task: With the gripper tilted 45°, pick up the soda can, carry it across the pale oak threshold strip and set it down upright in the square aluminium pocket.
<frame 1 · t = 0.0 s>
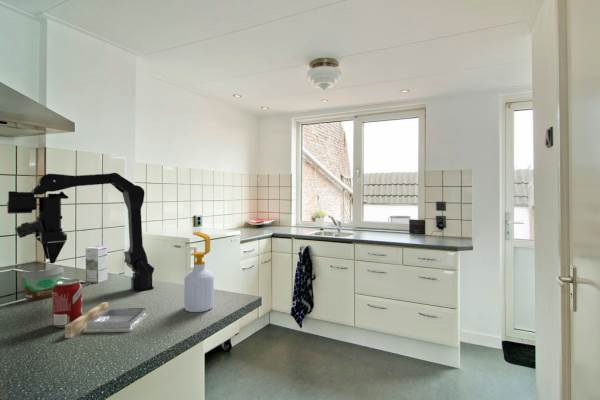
hand: (50, 260, 104), 15 cm above the worktop, tool pointing down, fingers open, 9 cm apart
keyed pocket: (118, 323, 92), on the worktop
syrup box: (96, 281, 135), on the worktop
food container: (46, 297, 113), on the worktop
oak threshold: (88, 323, 91), on the worktop
soap bottle: (199, 308, 105), on the worktop
soda can: (67, 324, 91), on the worktop
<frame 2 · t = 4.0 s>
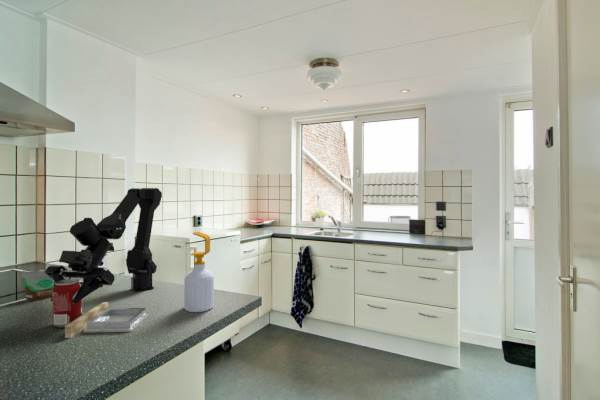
hand: (62, 302, 89), 7 cm above the worktop, tool tilted 45°, fingers closed on soda can, 6 cm apart
soda can: (67, 324, 91), on the worktop, touching gripper
everything else where it was.
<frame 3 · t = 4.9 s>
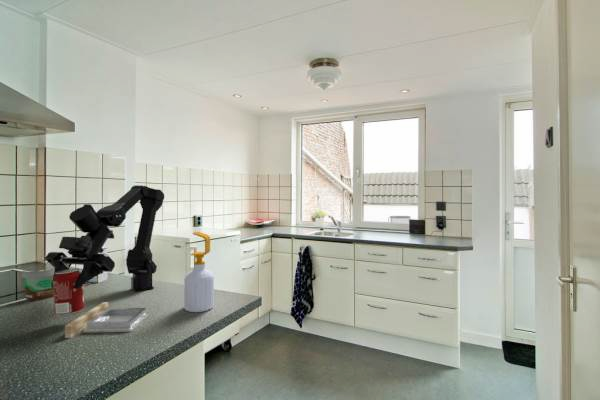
hand: (63, 287, 89), 11 cm above the worktop, tool tilted 45°, fingers closed on soda can, 6 cm apart
soda can: (70, 314, 90), point 3 cm above the worktop, touching gripper
everything else where it was.
when the fingers open (9 cm above the worktop, at t = 7.9 s): soda can stays where it is, resting on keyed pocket.
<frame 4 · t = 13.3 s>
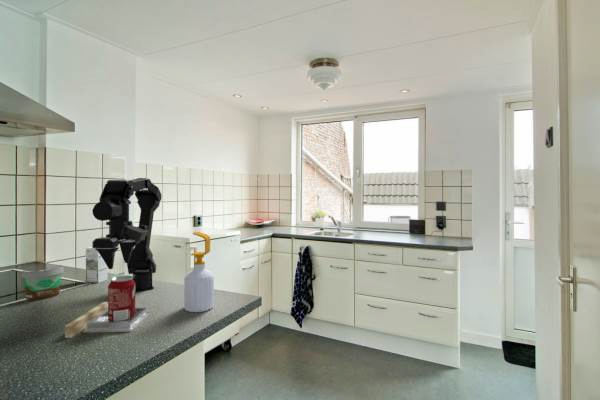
hand: (119, 265, 106), 13 cm above the worktop, tool pointing down, fingers open, 9 cm apart
soda can: (121, 320, 92), point 1 cm above the worktop, touching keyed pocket
everything else where it was.
at the end: soda can 0.9 cm off-centre on the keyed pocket, point 0.6 cm above the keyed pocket's base; soda can tilted 0°; the gripper is holding nothing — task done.
